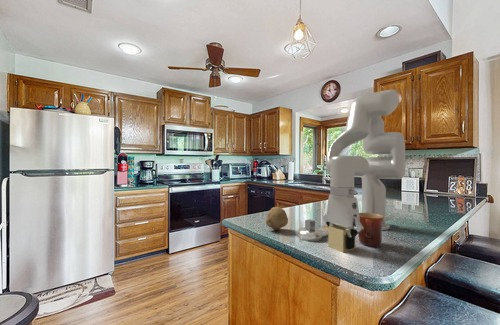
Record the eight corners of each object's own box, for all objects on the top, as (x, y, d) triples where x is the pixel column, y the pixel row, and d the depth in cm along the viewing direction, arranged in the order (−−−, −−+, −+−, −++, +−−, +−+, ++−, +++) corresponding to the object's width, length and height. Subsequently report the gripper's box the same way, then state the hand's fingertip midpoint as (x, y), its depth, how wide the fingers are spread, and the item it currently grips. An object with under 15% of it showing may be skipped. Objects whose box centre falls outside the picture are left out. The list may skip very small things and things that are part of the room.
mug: (357, 238, 85) (357, 211, 85) (384, 242, 80) (384, 214, 80) (353, 248, 75) (353, 217, 75) (383, 254, 70) (383, 221, 70)
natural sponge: (292, 230, 94) (292, 207, 94) (278, 235, 88) (278, 210, 88) (276, 226, 100) (276, 204, 100) (262, 229, 95) (262, 206, 95)
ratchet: (333, 228, 98) (333, 213, 98) (350, 233, 90) (350, 217, 90) (293, 235, 87) (293, 219, 87) (309, 242, 79) (309, 224, 79)
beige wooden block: (340, 243, 79) (340, 223, 79) (355, 249, 74) (355, 228, 74) (328, 246, 76) (328, 226, 76) (343, 252, 71) (343, 230, 71)
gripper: (373, 194, 69) (373, 252, 69) (329, 188, 84) (329, 236, 84) (357, 196, 66) (357, 256, 66) (315, 189, 81) (314, 239, 81)
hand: (341, 244), depth 75 cm, fingers closed on beige wooden block, 6 cm apart
